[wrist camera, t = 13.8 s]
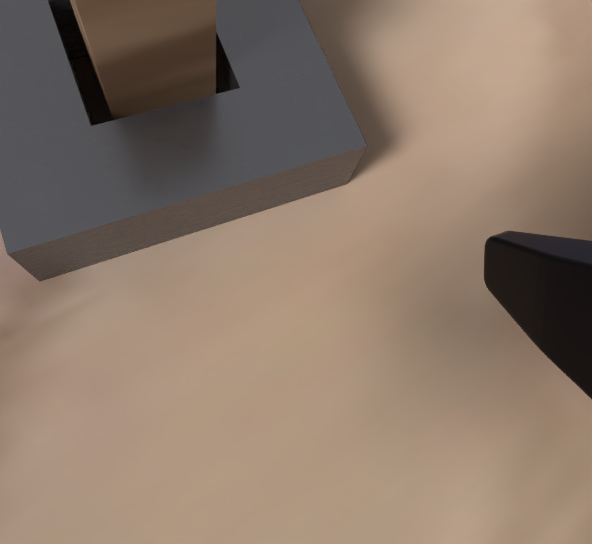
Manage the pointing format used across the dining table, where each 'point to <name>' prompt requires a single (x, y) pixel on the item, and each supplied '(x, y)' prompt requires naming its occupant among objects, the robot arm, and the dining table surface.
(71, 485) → the dining table surface
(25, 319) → the dining table surface
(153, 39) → the keyed plug
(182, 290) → the dining table surface
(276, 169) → the hub block
